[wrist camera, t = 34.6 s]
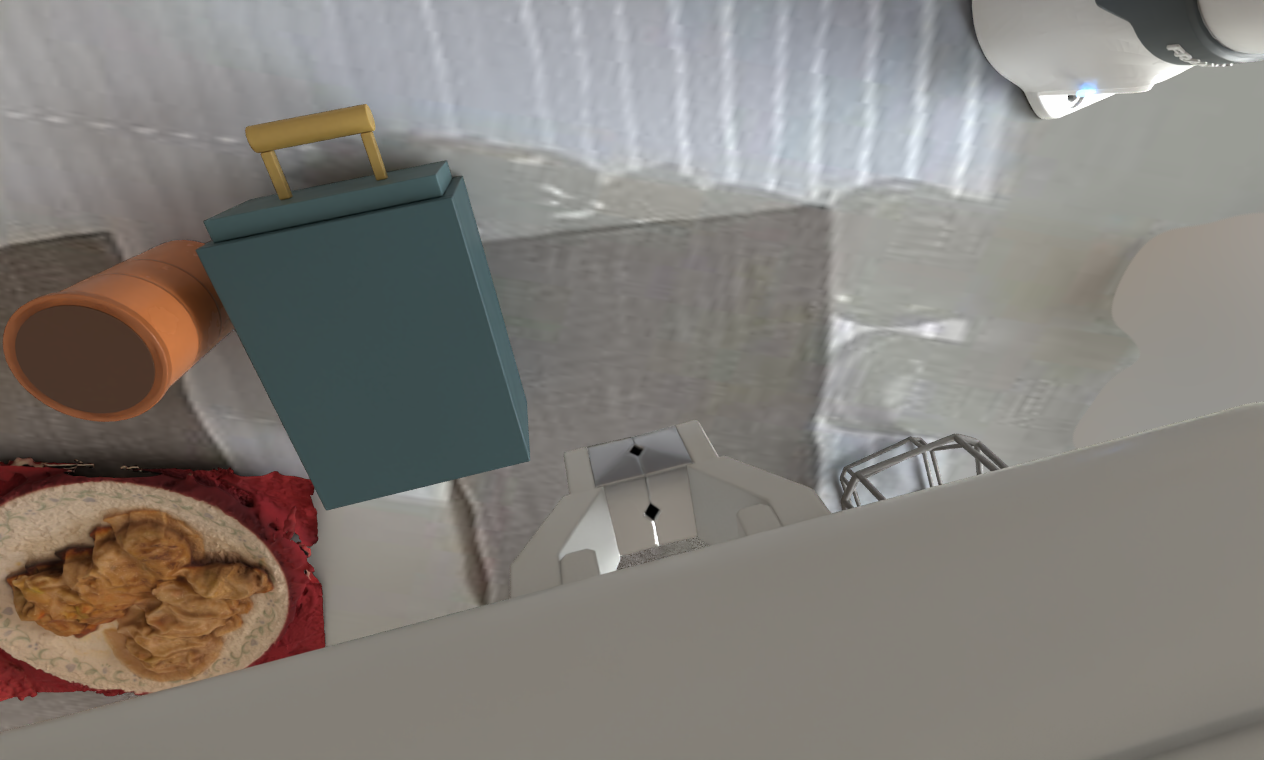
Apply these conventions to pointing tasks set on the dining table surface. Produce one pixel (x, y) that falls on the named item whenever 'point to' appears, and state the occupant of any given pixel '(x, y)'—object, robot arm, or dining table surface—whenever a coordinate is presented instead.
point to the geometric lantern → (922, 448)
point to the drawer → (330, 197)
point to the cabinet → (379, 345)
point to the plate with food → (150, 577)
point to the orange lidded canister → (118, 334)
